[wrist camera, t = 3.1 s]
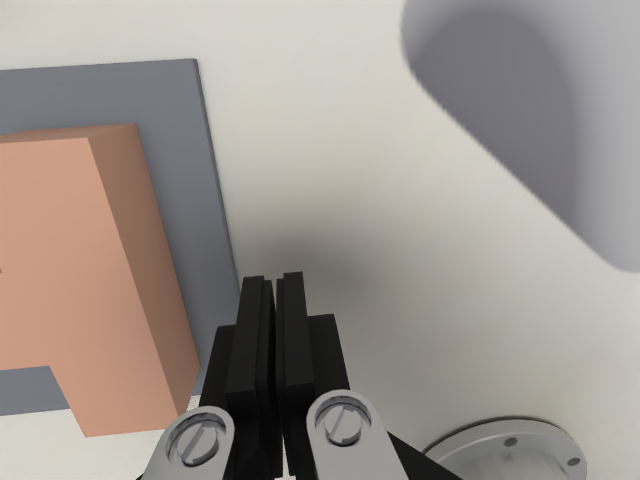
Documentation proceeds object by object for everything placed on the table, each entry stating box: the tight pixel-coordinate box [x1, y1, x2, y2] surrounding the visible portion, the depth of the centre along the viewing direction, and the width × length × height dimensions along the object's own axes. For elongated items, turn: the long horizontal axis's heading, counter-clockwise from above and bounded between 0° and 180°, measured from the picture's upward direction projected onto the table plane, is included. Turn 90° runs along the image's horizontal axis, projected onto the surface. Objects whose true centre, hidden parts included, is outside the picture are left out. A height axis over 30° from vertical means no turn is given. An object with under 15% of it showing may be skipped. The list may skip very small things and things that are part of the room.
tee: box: [0, 123, 200, 437], centre depth 14 cm, size 12×11×4 cm
